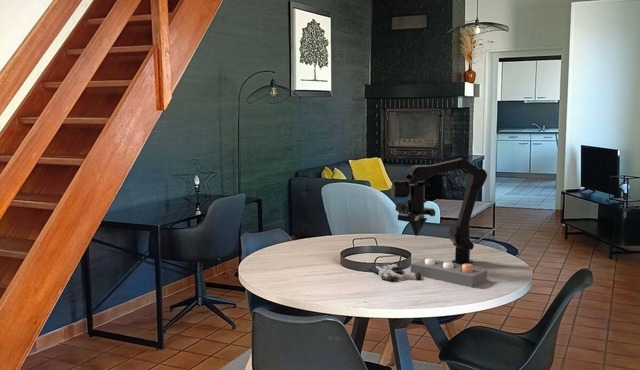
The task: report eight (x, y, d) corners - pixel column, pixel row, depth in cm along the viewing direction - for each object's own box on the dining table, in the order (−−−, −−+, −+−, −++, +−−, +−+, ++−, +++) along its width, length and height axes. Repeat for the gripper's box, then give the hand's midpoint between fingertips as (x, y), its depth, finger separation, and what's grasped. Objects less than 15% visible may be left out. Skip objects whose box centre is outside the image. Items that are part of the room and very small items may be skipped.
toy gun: (424, 281, 229) (386, 285, 224) (401, 266, 247) (366, 270, 243) (424, 274, 228) (387, 278, 224) (401, 259, 247) (366, 263, 243)
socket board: (426, 268, 244) (426, 258, 244) (486, 280, 227) (487, 270, 226) (410, 273, 236) (410, 263, 236) (472, 287, 219) (472, 276, 218)
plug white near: (428, 270, 239) (428, 257, 239) (436, 272, 237) (437, 259, 236) (422, 272, 237) (423, 259, 236) (431, 274, 234) (431, 261, 233)
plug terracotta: (465, 276, 229) (465, 263, 228) (474, 278, 226) (474, 264, 225) (459, 278, 226) (460, 265, 225) (469, 280, 223) (469, 266, 223)
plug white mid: (446, 274, 234) (446, 261, 233) (455, 276, 231) (455, 263, 231) (440, 276, 231) (441, 263, 231) (449, 278, 229) (450, 265, 228)
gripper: (413, 192, 258) (412, 229, 260) (386, 197, 244) (386, 236, 246) (436, 195, 250) (435, 233, 252) (410, 200, 237) (409, 240, 239)
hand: (416, 235), depth 248 cm, fingers closed
